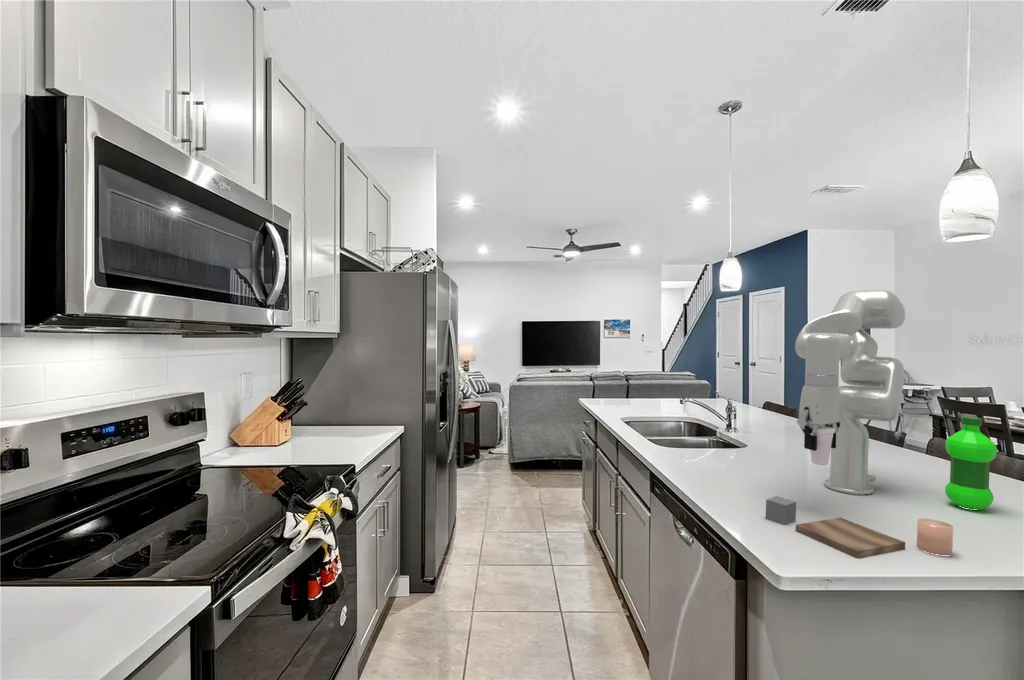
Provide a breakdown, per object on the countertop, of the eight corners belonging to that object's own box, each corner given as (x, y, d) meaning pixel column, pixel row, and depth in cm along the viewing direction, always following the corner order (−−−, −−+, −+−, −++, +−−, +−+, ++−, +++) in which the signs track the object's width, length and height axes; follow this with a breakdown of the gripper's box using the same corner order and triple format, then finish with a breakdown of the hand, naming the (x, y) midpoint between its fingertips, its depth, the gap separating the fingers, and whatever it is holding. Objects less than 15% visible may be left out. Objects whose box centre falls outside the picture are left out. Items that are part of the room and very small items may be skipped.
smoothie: (824, 468, 128) (826, 414, 127) (800, 461, 133) (801, 410, 133) (839, 464, 131) (840, 412, 130) (814, 458, 136) (816, 408, 136)
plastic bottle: (944, 498, 145) (947, 413, 144) (995, 508, 137) (998, 418, 137) (941, 506, 138) (944, 417, 137) (994, 517, 130) (997, 422, 130)
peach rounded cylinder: (927, 543, 113) (928, 517, 113) (958, 554, 108) (959, 527, 108) (910, 546, 111) (911, 520, 111) (940, 558, 106) (941, 530, 106)
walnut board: (840, 523, 124) (840, 517, 124) (905, 548, 110) (905, 542, 110) (795, 530, 119) (795, 524, 119) (857, 558, 105) (857, 551, 105)
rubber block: (775, 514, 130) (776, 496, 129) (795, 521, 125) (796, 501, 125) (765, 518, 127) (766, 499, 127) (785, 525, 123) (786, 505, 122)
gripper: (831, 378, 137) (830, 442, 138) (784, 380, 132) (783, 447, 132) (858, 381, 130) (856, 448, 131) (810, 384, 125) (808, 455, 125)
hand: (820, 447), depth 132 cm, fingers closed on smoothie, 6 cm apart
